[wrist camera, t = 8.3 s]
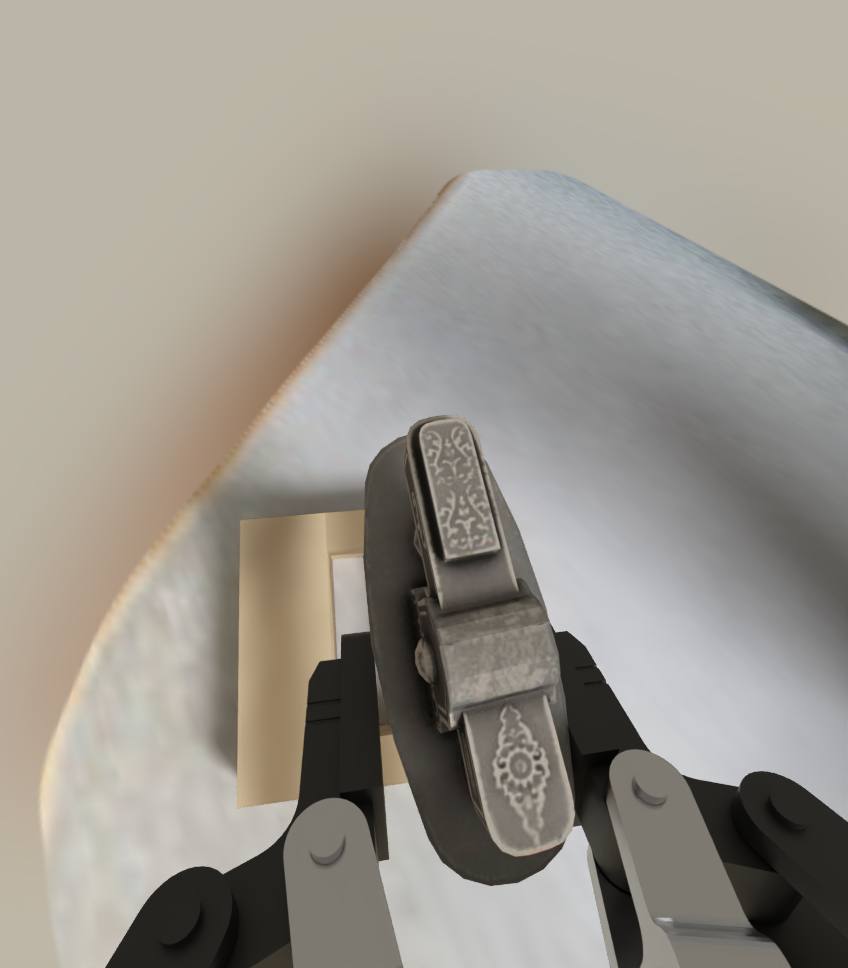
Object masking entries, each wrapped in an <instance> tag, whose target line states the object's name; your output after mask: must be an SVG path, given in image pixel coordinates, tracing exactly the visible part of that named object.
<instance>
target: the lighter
mask: <svg viewBox="0 0 848 968" xmlns="http://www.w3.org/2000/svg"><path fill="white" fill-rule="evenodd" d="M363 560H364V571H365V581H366V592H367V603H368V613H369V624H370V635H371V645H372V650H373V654H374V658H375V663H376V667H377V671H378V676H379V680H380V684H381V688H382V693H383V697H384V701H385V705H386V710H387V714H388V718H389V723H390V727H391V731H392V735H393V740H394V743H395V746H396V749H397V752H398V754H399V757H400V760H401V763H402V766H403V768H404V771H405V774H406V777H407V780H408V783H409V785H410V788H411V791H412V794H413V797H414V799H415V802H416V805H417V808H418V811H419V814H420V816H421V819H422V822H423V825H424V828H425V830H426V833H427V836H428V839H429V841H430V842H431V844H432V846H433V847H434V849H435V851H436V852H437V854H438V856H439V857H440V859H441V861H442V862H443V863H444V864H446V865H447V866H448V867H449V868H451V869H452V870H453V871H455V872H456V873H457V874H459V875H460V876H461V877H462V878H464V879H467V880H471V881H474V882H478V883H482V884H485V885H489V886H494V885H503V884H511V883H518V882H520V881H522V880H524V879H526V878H528V877H530V876H532V875H534V874H535V873H537V872H539V871H541V870H543V869H544V868H545V867H546V866H547V865H548V863H549V862H550V861H551V860H552V859H553V858H554V857H555V856H556V855H557V854H558V852H559V851H560V850H561V849H562V847H563V845H564V843H565V840H566V838H567V836H568V835H569V834H570V832H571V831H572V828H573V823H574V817H575V810H574V803H575V791H574V782H573V772H572V762H571V752H570V742H569V733H568V725H567V724H568V723H567V713H566V703H565V696H564V691H563V686H562V681H561V677H560V676H561V669H560V659H559V653H558V650H557V646H556V642H555V639H554V635H553V632H552V628H551V624H550V621H549V619H548V614H547V610H546V606H545V603H544V600H543V597H542V594H541V592H540V589H539V586H538V583H537V580H536V577H535V574H534V571H533V568H532V566H531V563H530V560H529V557H528V554H527V551H526V548H525V545H524V542H523V540H522V537H521V534H520V531H519V528H518V526H517V524H516V522H515V520H514V518H513V516H512V514H511V512H510V509H509V507H508V505H507V503H506V501H505V499H504V497H503V495H502V493H501V491H500V489H499V486H498V484H497V482H496V480H495V478H494V476H493V474H492V472H491V470H490V468H489V466H488V463H487V462H486V460H485V459H484V456H483V452H482V448H481V444H480V440H479V437H478V435H477V433H476V430H475V428H474V426H473V425H472V424H471V423H470V422H469V421H468V420H467V419H465V418H462V417H460V416H457V415H442V416H435V417H430V418H426V419H423V420H419V421H418V422H416V423H415V424H414V425H413V426H411V427H410V430H409V433H408V435H406V436H403V437H400V438H397V439H396V440H394V441H393V442H391V443H390V444H388V445H387V446H385V447H384V448H382V449H381V450H380V452H379V453H378V454H377V456H376V457H375V458H374V460H373V461H372V462H371V464H370V466H369V470H368V474H367V478H366V482H365V514H364V551H363Z"/></svg>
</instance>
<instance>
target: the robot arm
mask: <svg viewBox="0 0 848 968" xmlns="http://www.w3.org/2000/svg"><path fill="white" fill-rule="evenodd" d="M550 624H551V623H550ZM551 628H552V632H553V635H554V639H555V642H556V646H557V650H558V653H559V659H560V669H561V676H560V677H561V681H562V686H563V691H564V696H565V703H566V713H567V723H568V724H567V725H568V733H569V742H570V752H571V762H572V772H573V782H574V791H575V803H574V810H575V817H574V823H573V827H575V826H580V825H582V828H583V830H584V833H585V835H586V837H587V840H588V842H589V845H588V850H587V861H588V867H589V871H590V876H591V881H592V885H593V890H594V895H595V899H596V904H597V909H598V913H599V918H600V923H601V927H602V932H603V937H604V941H605V946H606V951H607V955H608V960H609V965H610V968H848V822H847V821H846V820H844V819H843V818H842V817H841V816H839V815H838V814H837V813H835V812H834V811H833V810H832V809H830V808H829V807H828V806H826V805H825V804H824V803H823V802H821V801H820V800H819V799H818V798H816V797H815V796H814V795H812V794H811V793H810V792H809V791H807V790H806V789H805V788H803V787H802V786H800V785H799V784H797V783H795V782H794V781H792V780H790V779H788V778H786V777H784V776H781V775H778V774H775V773H771V772H764V771H758V772H753V773H750V774H748V775H747V776H745V777H744V779H743V780H742V782H741V784H740V786H739V787H736V786H730V785H725V784H719V783H714V782H708V781H703V780H697V779H693V778H689V777H687V776H684V775H682V774H680V773H679V771H678V770H677V769H676V768H675V767H674V766H673V765H671V764H670V763H669V762H668V761H666V760H665V759H663V758H661V757H660V756H658V755H656V754H653V753H651V752H650V750H649V749H648V748H647V747H646V745H645V744H644V742H643V741H642V739H641V737H640V736H639V734H638V732H637V731H636V729H635V727H634V726H633V724H632V722H631V721H630V719H629V717H628V716H627V714H626V713H625V711H624V709H623V708H622V706H621V704H620V703H619V701H618V699H617V698H616V696H615V694H614V693H613V691H612V689H611V688H610V686H609V685H608V684H606V680H605V678H604V676H603V675H602V673H601V671H600V670H599V668H598V669H597V666H596V663H595V662H594V660H593V658H592V657H591V655H590V653H589V652H588V650H587V648H586V647H585V646H584V645H583V644H582V643H581V642H580V641H578V640H577V639H576V638H575V637H574V636H573V635H571V634H570V633H569V632H568V631H564V632H556V633H555V631H554V629H553V627H552V625H551ZM388 859H389V852H388V838H387V824H386V811H385V797H384V783H383V769H382V755H381V741H380V727H379V713H378V700H377V686H376V674H375V661H374V654H373V650H372V645H371V635H370V632H361V633H353V634H344V635H342V636H341V659H334V660H326V661H320V662H319V663H318V665H317V667H316V669H315V671H314V673H313V674H312V676H311V678H310V680H309V684H308V696H307V708H306V719H305V731H304V743H303V754H302V766H301V778H300V790H299V799H298V805H297V808H296V812H295V814H294V817H293V819H292V821H291V823H290V824H289V826H288V828H287V829H286V831H285V832H284V833H283V835H282V836H281V837H280V838H279V839H278V840H277V841H276V842H275V843H274V844H273V845H272V846H271V847H269V848H268V849H267V850H266V851H264V852H262V853H261V854H259V855H258V856H256V857H254V858H252V859H250V860H249V861H247V862H245V863H243V864H241V865H239V866H238V867H236V868H234V869H232V870H230V871H228V872H227V873H225V874H222V873H220V872H219V871H218V870H216V869H213V868H211V867H205V866H201V867H193V868H189V869H186V870H184V871H181V872H179V873H177V874H176V875H174V876H172V877H171V878H169V879H168V880H167V881H165V882H164V883H163V884H162V885H161V886H160V887H159V888H158V889H157V890H156V891H155V892H154V893H153V894H152V895H151V896H150V897H149V899H148V900H147V901H146V903H145V904H144V906H143V907H142V909H141V910H140V912H139V913H138V915H137V917H136V918H135V920H134V921H133V923H132V925H131V926H130V928H129V930H128V931H127V933H126V935H125V936H124V938H123V939H122V941H121V943H120V944H119V946H118V948H117V949H116V951H115V953H114V954H113V956H112V957H111V959H110V961H109V962H108V964H107V966H106V967H105V968H403V965H402V961H401V957H400V953H399V949H398V945H397V941H396V937H395V933H394V928H393V924H392V920H391V916H390V912H389V908H388V904H387V900H386V896H385V892H384V888H383V884H382V880H381V876H380V872H379V862H378V861H383V860H388Z"/></svg>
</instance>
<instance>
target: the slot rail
mask: <svg viewBox="0 0 848 968" xmlns="http://www.w3.org/2000/svg"><path fill="white" fill-rule="evenodd" d="M364 514H365V510H354V511H342V512H330V513H317V514H305V515H293V516H281V517H269V518H257V519H245V520H240V572H239V661H238V750H237V808H244V807H250V806H257V805H263V804H270V803H277V802H283V801H290V800H296V799H299V790H300V778H301V766H302V754H303V743H304V731H305V719H306V708H307V696H308V684H309V680H310V678H311V676H312V674H313V673H314V671H315V669H316V667H317V665H318V663H319V662H320V661H326V660H334V659H337V647H336V627H335V606H334V586H333V565H332V559H340V558H351V557H361V556H363V551H364ZM379 727H380V741H381V755H382V769H383V783H384V786H388V785H395V784H402V783H408V780H407V777H406V774H405V771H404V768H403V766H402V763H401V760H400V757H399V754H398V752H397V749H396V746H395V743H394V740H393V735H392V731H391V727H390V724H385V725H379Z"/></svg>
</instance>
